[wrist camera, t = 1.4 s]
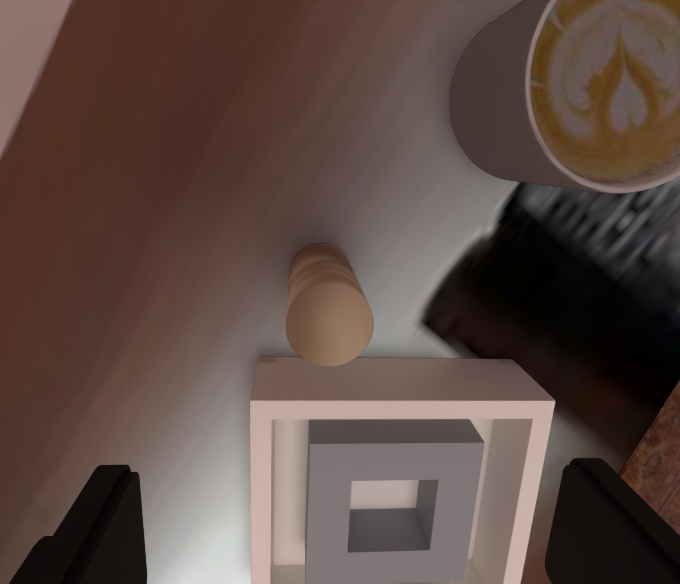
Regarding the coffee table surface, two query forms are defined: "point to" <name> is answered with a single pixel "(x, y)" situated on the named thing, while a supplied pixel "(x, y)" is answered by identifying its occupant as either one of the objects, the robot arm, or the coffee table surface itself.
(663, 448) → the book
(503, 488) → the open box
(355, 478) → the plate
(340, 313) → the peg
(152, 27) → the coffee table surface
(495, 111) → the coffee mug
